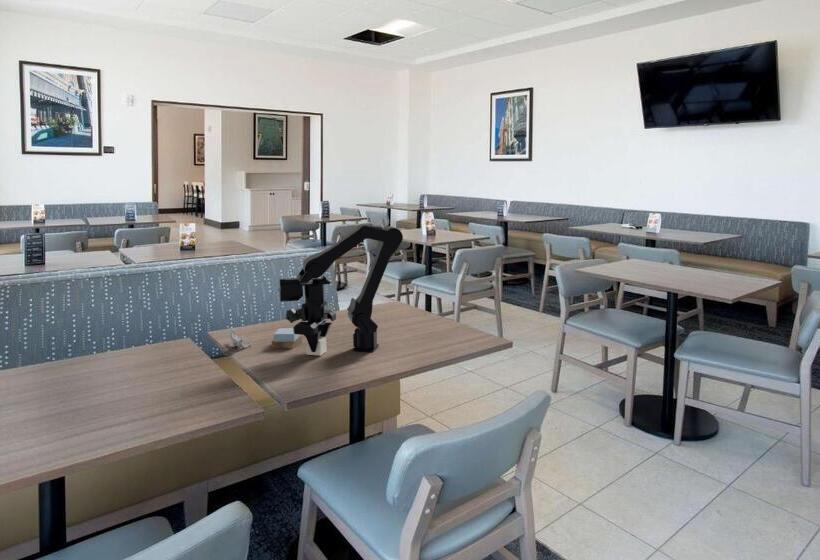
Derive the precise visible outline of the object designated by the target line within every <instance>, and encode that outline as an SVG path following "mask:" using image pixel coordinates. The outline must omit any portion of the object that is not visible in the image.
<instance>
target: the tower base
mask: <svg viewBox="0 0 820 560" xmlns="http://www.w3.org/2000/svg"><path fill="white" fill-rule="evenodd" d="M302 338H303V336H302V335H300V336H299V337H298V338H297V339H296V341H295V342H274V339H273V340H271V348H272V347H276V348H277V349H285V348H288V350H293V349H294V348H296V347H297V346H299V345H300V344H302V343H303V339H302ZM276 348H275V349H276Z"/></svg>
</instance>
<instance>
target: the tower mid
mask: <svg viewBox="0 0 820 560" xmlns="http://www.w3.org/2000/svg"><path fill="white" fill-rule="evenodd" d="M299 336H301V335H300V334H294V331H293V328H292V327H291V328H290V327H289V328H285V327H284V328H282V327H281V328H278V329H277V330H276V331H275V332H274V333H273V340H274V342H295V341H296V339H297V338H298V337H299Z"/></svg>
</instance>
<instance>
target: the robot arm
mask: <svg viewBox="0 0 820 560" xmlns="http://www.w3.org/2000/svg"><path fill="white" fill-rule="evenodd" d="M367 239H369V240H374V241H377V245H376V246H377V247H376V253H375V256H374V259H373V260H372V264H371V266H370V268H369V271H368V273H367V277H366V279H365V280H364V281H365V282H364V284H363V286H362V289H361V291H360V293H359V295H358V296H357V298H353V297H351V299H350V303H349V305H348V307H347V308H346V311H347V318H348V319H349V321H350V322H351V324H352V325H354V326H355V329H354V333H353V334H352V343H353V348H352V351H355V352H357V351H358V352H371V353H372V352H374V351H375V350H377V348H378V347H379V346H380V345H379V344H378V332H377V331H378V327H379V325H378V324H377V323H376V322H375V321H374V320H373V319H372V314H373V306H374V305H373V303H374V299H375V296H376V294H377V291H378V289H379V286H380V284H381V282H382V279H383V276H384V273H385V272H386V269H387V266H388V265H389V261H390V259H391V257H392V256H393V255H395V253H396V252H397V251H398V249H399V247H400V246H401V244H402V242H403V239H404V235H403V233H402V231H401V229H399V228H397V227H394V226H392V225H387V226H384V227H378V226H374V225H373V226H372V225H367V224H364V223H362V224H359V225H358V226H357V227H356V228H355V229H353V230H352V231H351V232H349V233H348V234H345V235H344V237H342V238H341V239H339V240H338V241H336V242H335V243H333V244H332V245H331V246H330V247H328V248H327V249H324V250H322V251H318V252H316V253H314V254H312V255H310V256H308V257H306V258H305V259H304V260H303V262H302V268H301V270H300V271H299V272H298V274H297V275H296V277H293V278H284V277H283V278H279V280H278V281H279V283H278V299H279V300H278V301H279V303H281V302H282V303H283V302H297V301H300V300H301V299H302V298H303V297H304V302H303V303H302V304H301V307H299V308H291V309H288V310H286V313H285V316H286V317H285V320H287V321H288V322H290V324H293V323H294V322H296V321H300V320H301V321H300V322H298V323H297V324H295V325H294V326H292V327H293V331H294V334H299V335H300V336H302V335H303V336H304V337H305V338H306V340H307V341H308V343H309V346H310V349H311V351H312V352H315V351H316V348H317V345H318V341H319V337H320V336H321V337H326V338H327V335H328V332H329V330H330V328H331V326H332V324H333V323H332V322H334V321H335V320H337V313H336V312H335V311H334V310H331V309H327V310H326V308H325V306H327V305H328V301H327V300H325V285H330V284H331V281H330V280H329V279H328V278H327V277H326V276H325V275H324V274H325V273H326V272H327V271H328V270H329V269H330V267H331V266H332V265H333V263H335V262H336V261H337V260H338V259H340V258H341V257H343V256H344V255H345V254H346V253H348V252H349V251H351V250H352V249H354V248H355V247H357V246H358V245H359V244H360V243H362V242H364V241H366V240H367ZM303 287H304V289H303ZM328 320H330V321H331V322H328Z"/></svg>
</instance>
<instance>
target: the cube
mask: <svg viewBox="0 0 820 560" xmlns="http://www.w3.org/2000/svg"><path fill="white" fill-rule="evenodd" d="M305 343H306V355H309V356H310V355H311V356H320V357H321V356H322V355H324V354H325V353H326V352H327V350H328V349H327V336H326V337H321V336H320V337H319V341H318V345H317V348H316V351H315V352H312V351H311V349H310V346H309V343H308V341H307V339H306V342H305Z"/></svg>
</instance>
